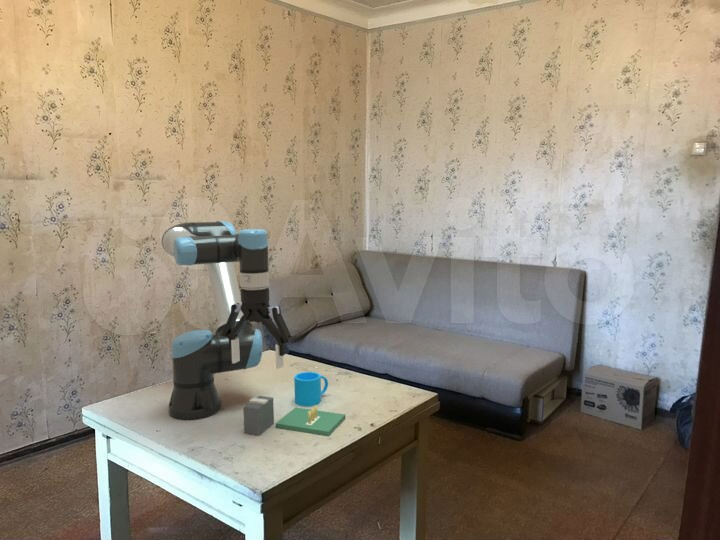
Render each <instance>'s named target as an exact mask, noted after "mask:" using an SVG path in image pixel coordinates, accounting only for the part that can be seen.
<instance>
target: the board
mask: <svg viewBox="0 0 720 540" xmlns="http://www.w3.org/2000/svg"><path fill="white" fill-rule="evenodd" d="M344 420H346V414H344V413H337V412H330V411H326V410H325V411H324V410H318V405H314V406H313V407H312V408H303V407H302V408H301V407H297V406H296V407H294V408H292V410H290V411H289V412H287V414H286V415H284V416H283V417H282V418H280V419H279V420H278V421H277V422H276V423H275V428H278V429H284V430H289V431H295V432H302V433H308V434H315V435H321V436H326V437H330V435H331V434H332V433H334V431H335V430H336V429H337V428H338V427H339V426H340V425H341V424H342V423H343V422H344Z"/></svg>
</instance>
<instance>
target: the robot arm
mask: <svg viewBox="0 0 720 540" xmlns="http://www.w3.org/2000/svg"><path fill="white" fill-rule="evenodd" d="M268 239H269V238H268V232H267V231H266V230H265V229H261V228H260V229H259V228H247V229H241V230H239V231H238V233H237V230H236V228H235V226H234V225H233V223H231V222H228V221H221V220H217V221H205V222H202V221H200V222H199V221H198V222H197V221H196V222H195V221H194V222H182V223H178V224H176V225H175V224H174V225H173V226H170V227H169V228H168V229H166V230H165V231H164V233H163V234H162V237H161V245H162V249H163V250H164V251H165V253H167V254H168V255H169V256H171V257H174V258H173V259H174V262H175V263H176V264H177V266H194V265H204V266H206V268H207V272H208V278H209V282H210V283H209V284H210V289H211V291H212V292H211V293H212V298H213V304H214V308H215V313H216V318H217V323H218V326H217V328H216V329H215V334H213V332H212V331H211V330H208V329H197V330H191V331H188V332H185V333H182V334H179V335H178V336H177V337H175V338H174V339H173V341H171V354H170V356H171V357H170V358H171V361H172V379H173V388H172V392H171V396H170V400H169V403H168V415H169V416H170V417H172V418H174V419H178V420H197V419H202V418H203V419H204V418H207V417H210V416H213V415H214V414H216V413H218V412H219V411H220V410H221V409H222V398H221V396H220V395H219V391H218V389H217V386H216V383H215V374H220V373H227V372H233V371H240V370H241V371H242V370H247V369H251V368H252V369H253V368H255V367H258V366H259V364H260V362H261V361H262V356H263V335H262V331H261V330H260V329H257V328H254V327H253V323H258V324H259V323H261V324H262V325H263V326H265V328H266V329H267V331H269V333H270V334H271V336H272V337H273V339H274V340H275V341H276V342H277V343H276V344H275V369H280V368H282V367H284V356H285V355H286V354H287V351H286V350H287V349H286V348H287V347H286V344H288V343H289V342H291V341H292V340H293V336H292V335H291V332H290V330H289V328H288V326H287V324H286V321H285V320H284V318H283V315H282V309H281V306H280V305H277V306H270V288H269V286H270V278H269V277H270V276H269V274H270V273H269V271H270V270H269V240H268ZM234 263H238V264H239V281H240V283H238V279H237V274H236V269H235V266H234ZM239 285H240V287H241V289H240V287H239ZM270 315H271V316H272V317H271V316H270Z"/></svg>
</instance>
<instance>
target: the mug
mask: <svg viewBox="0 0 720 540" xmlns="http://www.w3.org/2000/svg"><path fill="white" fill-rule="evenodd" d="M293 379H294V380H293V382H294V387H293V388H294V404H296V405H297V406H300V407H314V406H318V405H320V403H322V396H323V395H324V394H325V393H326V391H327V389H328V387H329V381H328V378H327V377H326V376H324V375H321V374H320V373H318V372H313V371H303V372H299V373H296V374H295V375H294V376H293ZM322 380H323V381H324V386H323V389H322Z"/></svg>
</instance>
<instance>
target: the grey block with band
mask: <svg viewBox="0 0 720 540" xmlns="http://www.w3.org/2000/svg"><path fill="white" fill-rule="evenodd" d="M242 411H243V430H244V431H243V434H245V435H252V436H257V437H259V436H261V434H263V433H264V432H265V431H267V430H268V429H269V428H271V426H273V425H274V424H275V415H274V414H275V413H274V412H275V411H274V397H270V396H264V395H258V396H257V397H252V398H250V399H249V402H248V403H247V404H245V405H243V409H242Z"/></svg>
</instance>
